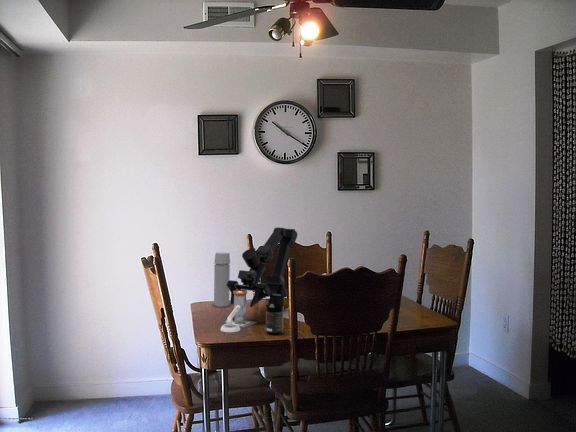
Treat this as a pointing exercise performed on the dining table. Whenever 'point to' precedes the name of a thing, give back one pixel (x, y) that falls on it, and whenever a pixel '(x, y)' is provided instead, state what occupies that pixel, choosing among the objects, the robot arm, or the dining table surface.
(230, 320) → the hook
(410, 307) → the dining table surface
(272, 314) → the supplement container
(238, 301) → the clear copper-topped jar
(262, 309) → the dining table surface
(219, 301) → the water bottle
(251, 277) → the robot arm
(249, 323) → the pad
